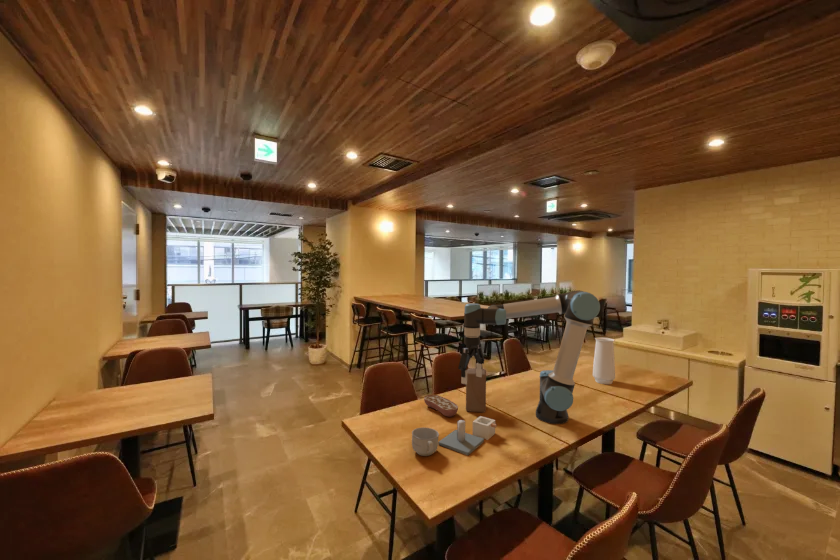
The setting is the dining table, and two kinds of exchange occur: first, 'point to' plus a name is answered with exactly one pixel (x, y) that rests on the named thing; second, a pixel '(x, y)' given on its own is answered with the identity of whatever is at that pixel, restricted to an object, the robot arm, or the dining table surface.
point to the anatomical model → (441, 405)
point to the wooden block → (476, 391)
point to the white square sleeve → (484, 427)
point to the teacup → (424, 441)
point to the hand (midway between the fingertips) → (471, 380)
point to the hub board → (461, 445)
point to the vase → (604, 361)
